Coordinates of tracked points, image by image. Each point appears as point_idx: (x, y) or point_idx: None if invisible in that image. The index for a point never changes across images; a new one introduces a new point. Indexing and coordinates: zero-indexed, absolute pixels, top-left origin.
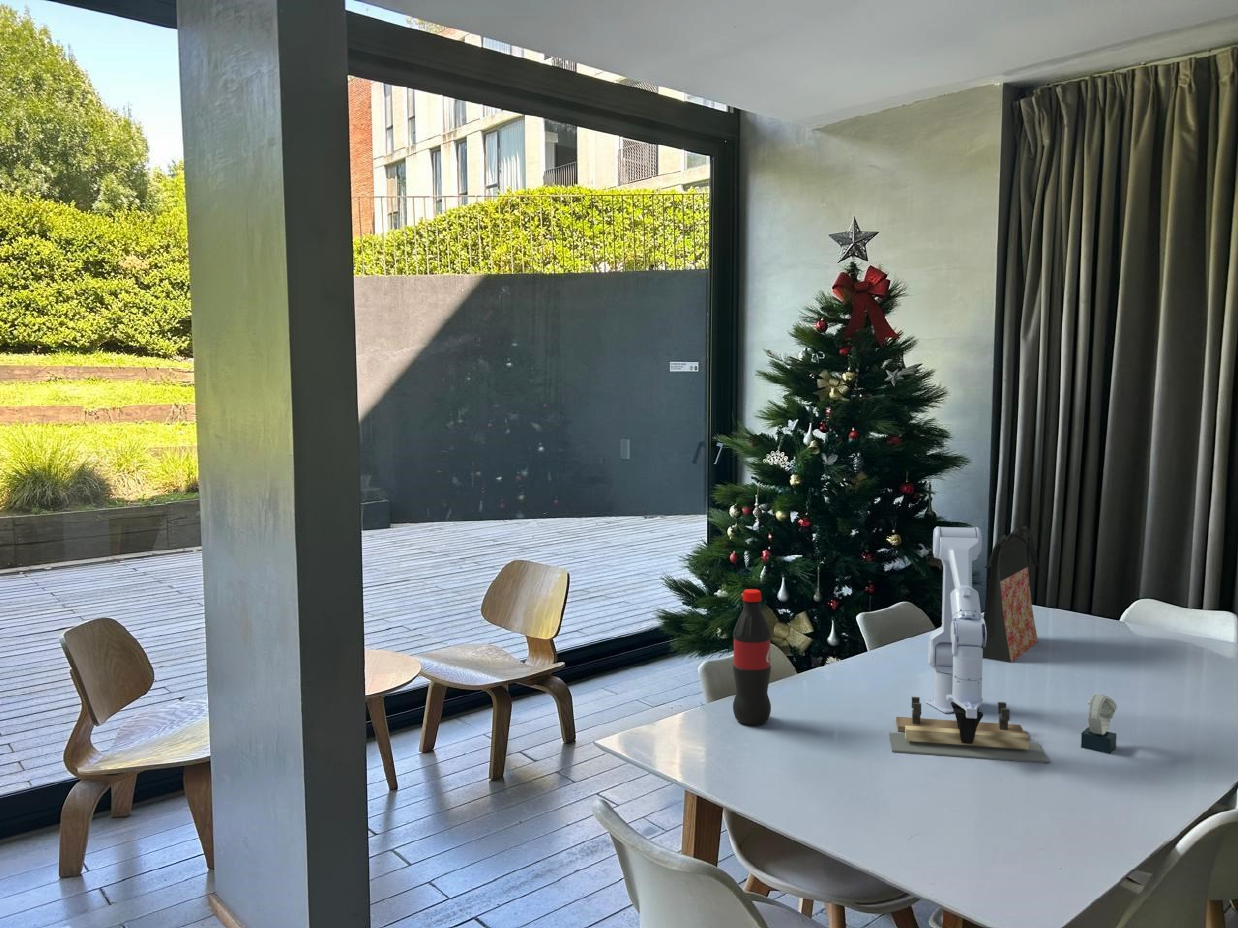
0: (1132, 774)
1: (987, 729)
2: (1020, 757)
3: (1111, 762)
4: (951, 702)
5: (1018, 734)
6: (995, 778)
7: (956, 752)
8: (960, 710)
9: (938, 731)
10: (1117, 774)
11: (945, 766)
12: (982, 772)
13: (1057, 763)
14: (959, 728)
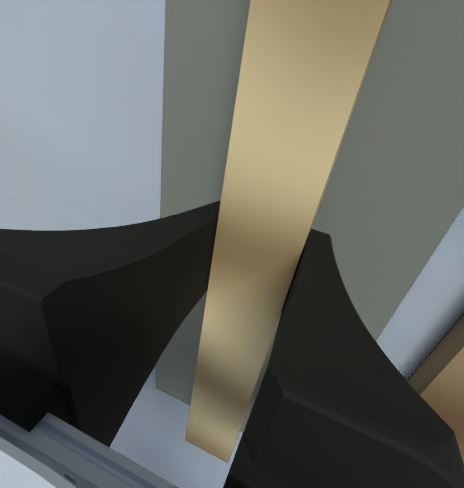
0: (134, 455)
1: (452, 425)
2: (172, 347)
3: (185, 474)
4: (422, 465)
5: (217, 438)
6: (13, 190)
7: (193, 136)
8: (3, 333)
9: (253, 40)
10: (128, 439)
11: (40, 6)
12: (41, 168)
13: (163, 397)
14: (156, 220)
